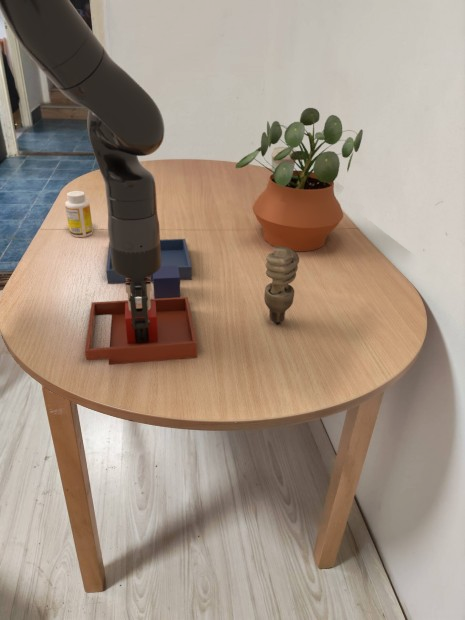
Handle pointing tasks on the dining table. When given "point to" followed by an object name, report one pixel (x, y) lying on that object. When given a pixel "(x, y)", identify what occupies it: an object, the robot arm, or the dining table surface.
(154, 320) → the red block
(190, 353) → the front tray
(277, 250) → the light bulb
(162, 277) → the blue block
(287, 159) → the coffee cup
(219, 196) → the dining table surface
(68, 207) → the supplement bottle
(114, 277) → the back tray
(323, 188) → the potted plant
